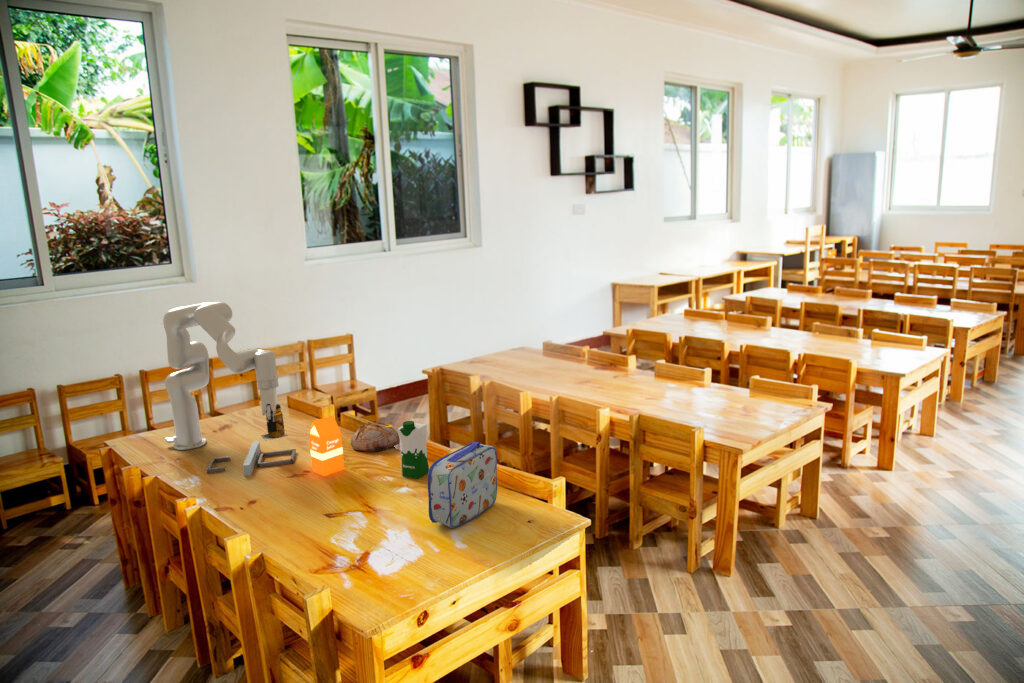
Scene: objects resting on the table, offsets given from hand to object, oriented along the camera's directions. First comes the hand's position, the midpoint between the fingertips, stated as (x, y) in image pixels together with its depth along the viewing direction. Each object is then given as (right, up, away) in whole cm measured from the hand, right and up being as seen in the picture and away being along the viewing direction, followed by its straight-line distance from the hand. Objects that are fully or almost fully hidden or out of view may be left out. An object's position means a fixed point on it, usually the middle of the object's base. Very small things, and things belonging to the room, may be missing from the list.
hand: (273, 428), depth 272 cm
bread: (+37, -9, +14) cm, 40 cm away
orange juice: (+24, -14, -10) cm, 29 cm away
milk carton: (+57, -14, -17) cm, 61 cm away
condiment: (0, -3, 0) cm, 3 cm away
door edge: (-8, -13, +1) cm, 16 cm away
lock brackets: (-8, -13, +1) cm, 16 cm away
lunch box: (+77, -21, -50) cm, 94 cm away
